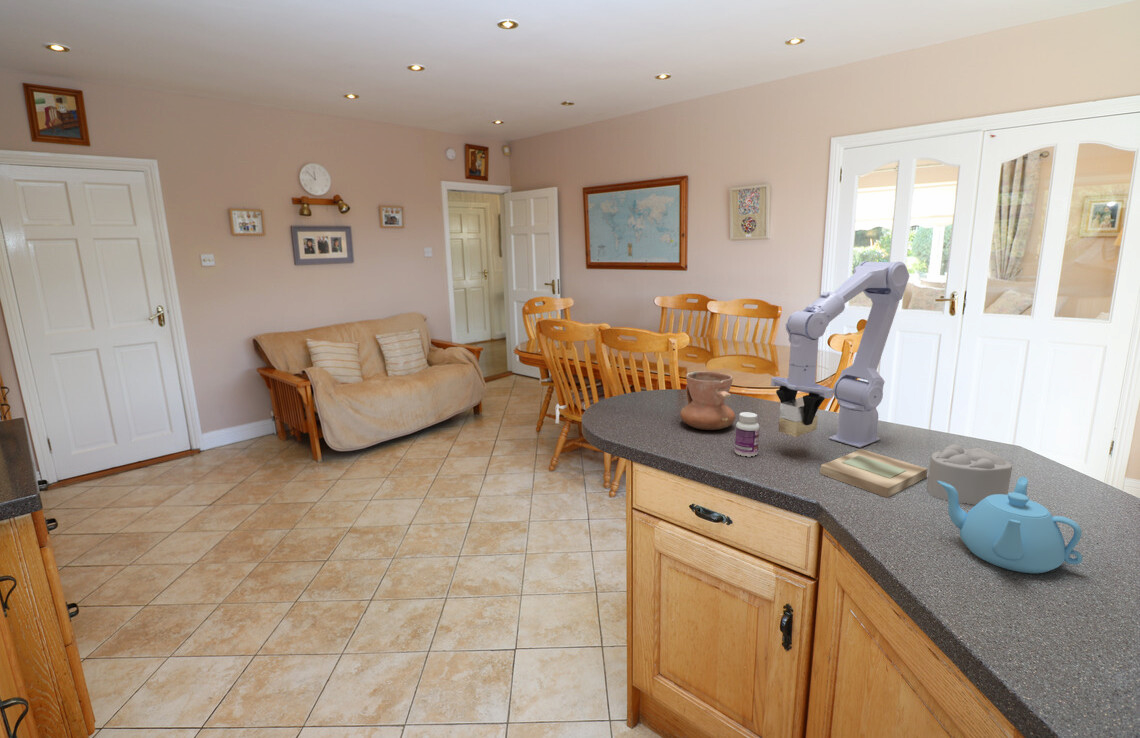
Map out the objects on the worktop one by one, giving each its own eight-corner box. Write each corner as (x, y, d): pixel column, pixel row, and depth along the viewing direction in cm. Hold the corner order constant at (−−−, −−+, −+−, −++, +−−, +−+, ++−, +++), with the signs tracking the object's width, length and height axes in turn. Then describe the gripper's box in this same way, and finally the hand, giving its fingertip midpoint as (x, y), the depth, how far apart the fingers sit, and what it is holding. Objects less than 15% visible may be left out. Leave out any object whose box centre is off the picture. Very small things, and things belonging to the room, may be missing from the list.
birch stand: (860, 457, 126) (861, 448, 126) (926, 477, 115) (927, 467, 114) (820, 473, 117) (820, 464, 117) (886, 497, 106) (888, 487, 106)
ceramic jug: (749, 432, 144) (751, 379, 141) (701, 438, 139) (703, 384, 137) (709, 414, 161) (711, 366, 158) (666, 419, 156) (667, 370, 153)
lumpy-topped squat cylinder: (1015, 503, 103) (1023, 460, 101) (950, 507, 102) (957, 463, 100) (972, 480, 113) (978, 440, 111) (912, 483, 112) (917, 443, 110)
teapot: (1097, 581, 79) (1112, 517, 77) (997, 585, 79) (1009, 520, 77) (1013, 530, 94) (1024, 474, 91) (928, 533, 93) (936, 477, 91)
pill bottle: (759, 458, 127) (761, 418, 124) (735, 456, 128) (737, 417, 125) (756, 449, 132) (758, 411, 130) (733, 448, 133) (735, 410, 131)
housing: (799, 424, 132) (801, 395, 130) (816, 429, 128) (819, 400, 126) (778, 431, 127) (780, 401, 126) (795, 436, 124) (798, 406, 122)
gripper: (764, 361, 128) (760, 416, 131) (822, 372, 116) (816, 433, 119) (783, 357, 132) (779, 411, 135) (840, 368, 120) (835, 427, 123)
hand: (798, 421), depth 127 cm, fingers closed on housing, 4 cm apart
